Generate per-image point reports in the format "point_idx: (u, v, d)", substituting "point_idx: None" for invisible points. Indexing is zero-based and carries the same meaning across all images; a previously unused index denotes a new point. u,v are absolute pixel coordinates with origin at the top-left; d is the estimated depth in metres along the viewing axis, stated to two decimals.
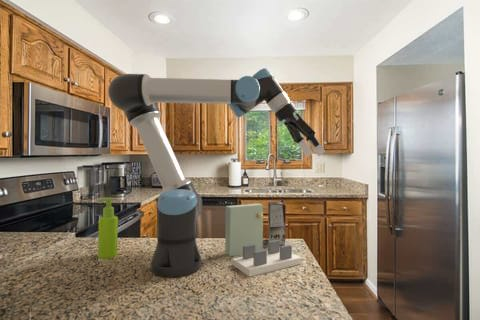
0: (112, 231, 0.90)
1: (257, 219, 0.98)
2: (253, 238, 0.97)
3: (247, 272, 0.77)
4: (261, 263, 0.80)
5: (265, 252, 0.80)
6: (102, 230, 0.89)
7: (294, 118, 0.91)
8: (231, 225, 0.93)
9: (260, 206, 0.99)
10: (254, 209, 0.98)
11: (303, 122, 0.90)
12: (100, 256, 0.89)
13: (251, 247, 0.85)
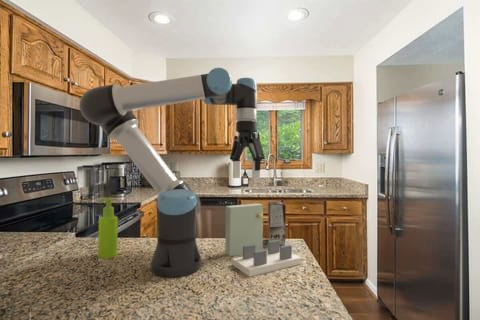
0: (112, 231, 0.90)
1: (257, 219, 0.98)
2: (253, 238, 0.97)
3: (247, 272, 0.77)
4: (261, 263, 0.80)
5: (265, 252, 0.80)
6: (102, 230, 0.89)
7: (254, 135, 0.92)
8: (231, 225, 0.93)
9: (260, 206, 0.99)
10: (254, 209, 0.98)
11: (259, 144, 0.91)
12: (100, 256, 0.89)
13: (251, 247, 0.85)
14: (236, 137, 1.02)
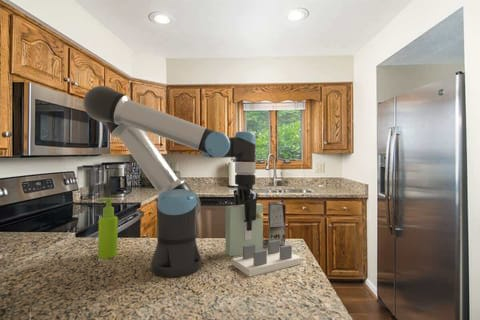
0: (112, 231, 0.90)
1: (257, 219, 0.98)
2: (253, 237, 0.97)
3: (247, 272, 0.77)
4: (261, 263, 0.80)
5: (265, 252, 0.80)
6: (102, 230, 0.89)
7: (252, 197, 0.92)
8: (231, 225, 0.93)
9: (260, 206, 0.99)
10: None
11: (255, 205, 0.93)
12: (100, 256, 0.89)
13: (251, 247, 0.85)
14: (235, 191, 1.02)
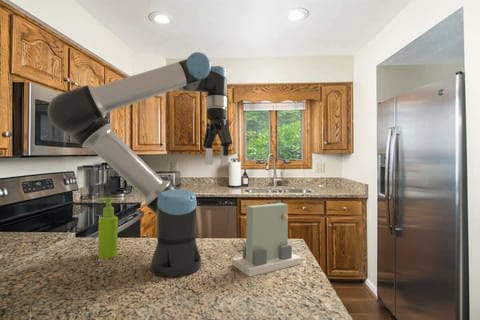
0: (112, 231, 0.90)
1: (281, 221, 0.86)
2: (277, 242, 0.85)
3: (247, 272, 0.77)
4: (261, 263, 0.80)
5: (265, 252, 0.80)
6: (102, 230, 0.89)
7: (223, 121, 0.94)
8: (253, 228, 0.81)
9: (285, 206, 0.87)
10: (278, 210, 0.86)
11: (227, 129, 0.94)
12: (100, 256, 0.89)
13: None
14: (208, 125, 1.05)
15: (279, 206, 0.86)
